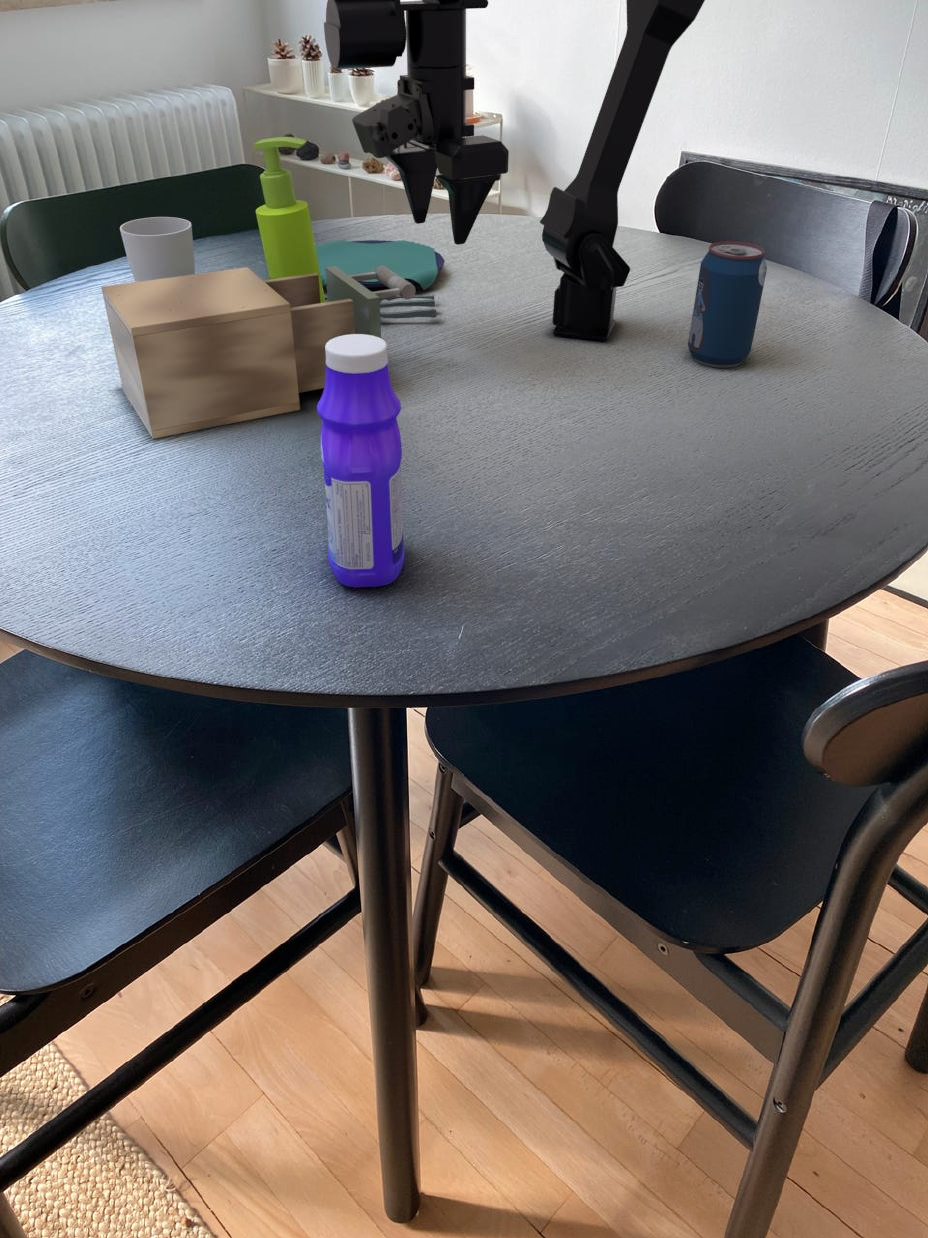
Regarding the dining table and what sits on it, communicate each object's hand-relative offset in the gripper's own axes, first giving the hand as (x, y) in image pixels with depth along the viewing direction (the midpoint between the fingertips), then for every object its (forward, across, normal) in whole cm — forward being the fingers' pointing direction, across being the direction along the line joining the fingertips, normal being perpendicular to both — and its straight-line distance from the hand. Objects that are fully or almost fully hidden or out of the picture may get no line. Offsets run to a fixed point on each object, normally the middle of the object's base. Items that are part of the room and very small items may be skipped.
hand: (439, 232), depth 101 cm
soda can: (+13, +17, +26) cm, 34 cm away
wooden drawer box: (+12, +2, -28) cm, 30 cm away
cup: (+12, -26, -24) cm, 38 cm away
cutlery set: (+13, -24, +2) cm, 27 cm away
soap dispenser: (+12, -14, -11) cm, 21 cm away
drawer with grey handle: (+11, +2, -15) cm, 19 cm away
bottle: (+12, +38, -26) cm, 47 cm away
